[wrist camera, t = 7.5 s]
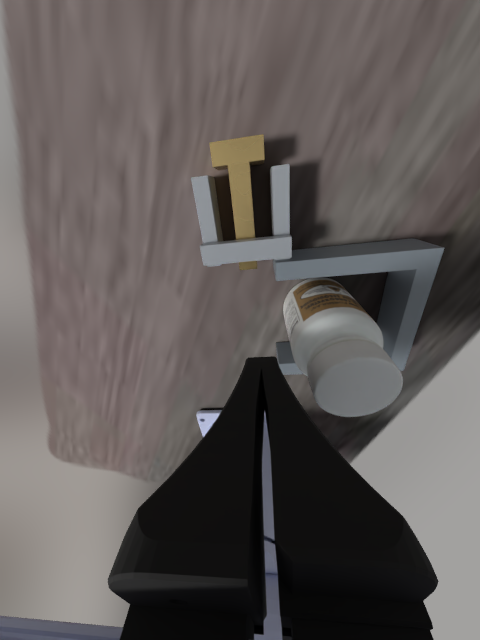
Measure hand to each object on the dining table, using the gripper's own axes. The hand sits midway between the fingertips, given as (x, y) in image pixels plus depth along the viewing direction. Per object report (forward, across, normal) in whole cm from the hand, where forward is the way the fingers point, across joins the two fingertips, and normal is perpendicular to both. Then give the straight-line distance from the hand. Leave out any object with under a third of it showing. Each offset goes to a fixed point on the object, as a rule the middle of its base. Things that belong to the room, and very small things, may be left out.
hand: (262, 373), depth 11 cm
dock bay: (+6, -3, -2) cm, 8 cm away
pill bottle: (+7, -4, 0) cm, 8 cm away
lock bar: (+6, 0, -7) cm, 9 cm away
